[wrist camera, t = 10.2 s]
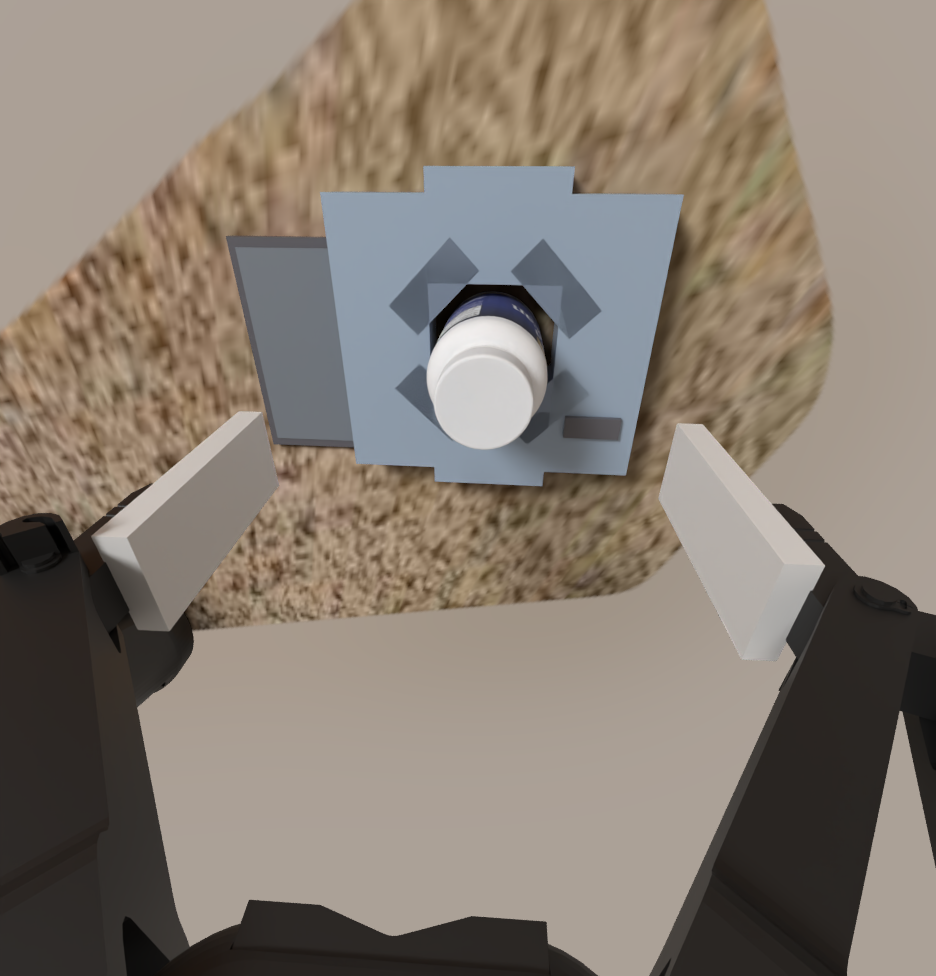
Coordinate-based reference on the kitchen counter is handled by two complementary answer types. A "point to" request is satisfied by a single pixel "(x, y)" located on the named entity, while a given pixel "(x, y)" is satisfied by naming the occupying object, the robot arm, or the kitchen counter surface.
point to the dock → (499, 261)
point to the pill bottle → (487, 371)
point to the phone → (294, 337)
